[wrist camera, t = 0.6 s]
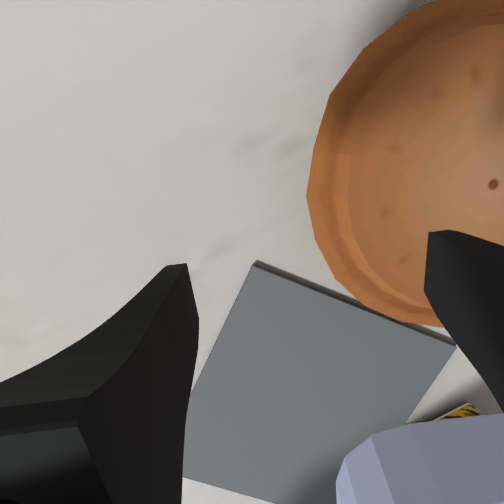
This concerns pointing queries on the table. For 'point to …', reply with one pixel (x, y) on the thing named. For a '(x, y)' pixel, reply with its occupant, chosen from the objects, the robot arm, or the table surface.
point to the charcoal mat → (300, 390)
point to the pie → (412, 153)
